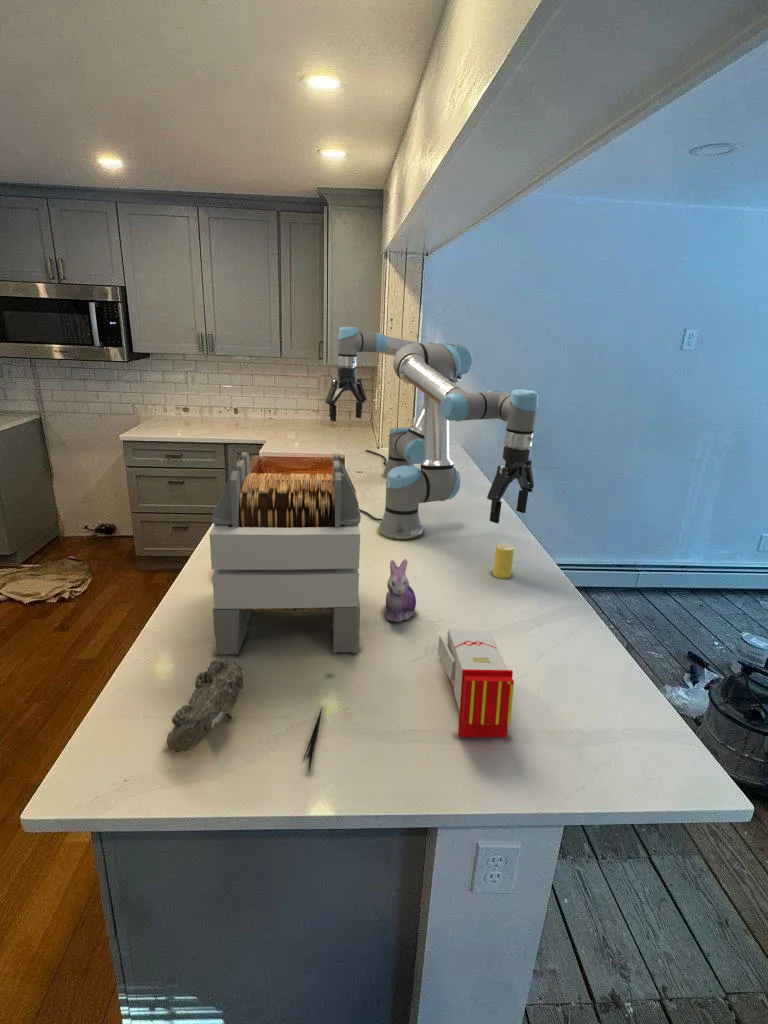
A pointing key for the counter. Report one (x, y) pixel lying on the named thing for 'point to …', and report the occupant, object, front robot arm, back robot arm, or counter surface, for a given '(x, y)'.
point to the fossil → (206, 705)
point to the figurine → (399, 594)
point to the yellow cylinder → (503, 560)
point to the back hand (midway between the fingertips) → (346, 419)
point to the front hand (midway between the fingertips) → (507, 516)
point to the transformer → (285, 551)
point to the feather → (313, 740)
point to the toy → (478, 682)
